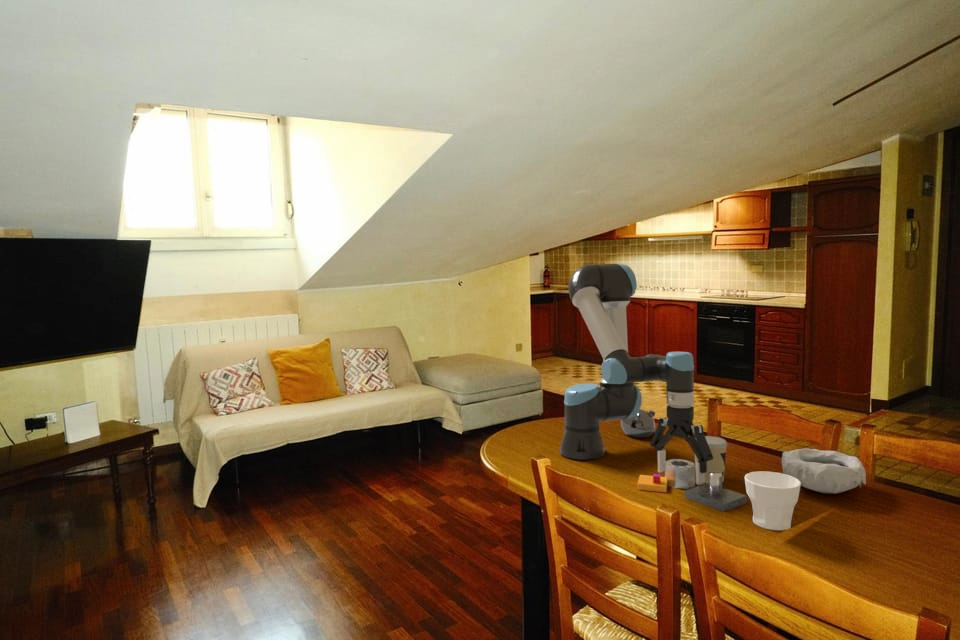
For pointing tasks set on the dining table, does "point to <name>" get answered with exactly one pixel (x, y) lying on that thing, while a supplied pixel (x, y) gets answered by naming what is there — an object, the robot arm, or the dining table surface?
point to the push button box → (652, 483)
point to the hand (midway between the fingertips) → (680, 477)
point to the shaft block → (716, 494)
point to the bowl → (824, 470)
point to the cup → (772, 498)
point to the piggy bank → (639, 424)
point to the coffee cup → (715, 457)
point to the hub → (680, 473)
